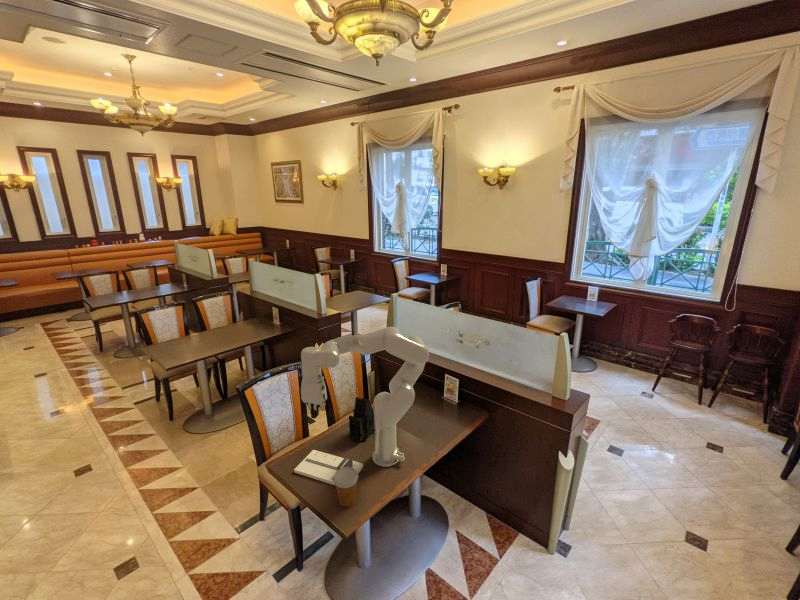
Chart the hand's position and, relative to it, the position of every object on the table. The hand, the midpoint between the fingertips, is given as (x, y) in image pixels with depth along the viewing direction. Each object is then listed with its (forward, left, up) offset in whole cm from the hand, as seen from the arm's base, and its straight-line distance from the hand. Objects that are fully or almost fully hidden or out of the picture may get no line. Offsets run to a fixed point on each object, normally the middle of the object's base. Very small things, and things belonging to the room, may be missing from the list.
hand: (314, 416), depth 155 cm
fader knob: (-13, 0, -23) cm, 27 cm away
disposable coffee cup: (-21, +12, -25) cm, 35 cm away
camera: (-7, -26, -25) cm, 37 cm away
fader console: (-5, 0, -25) cm, 26 cm away
